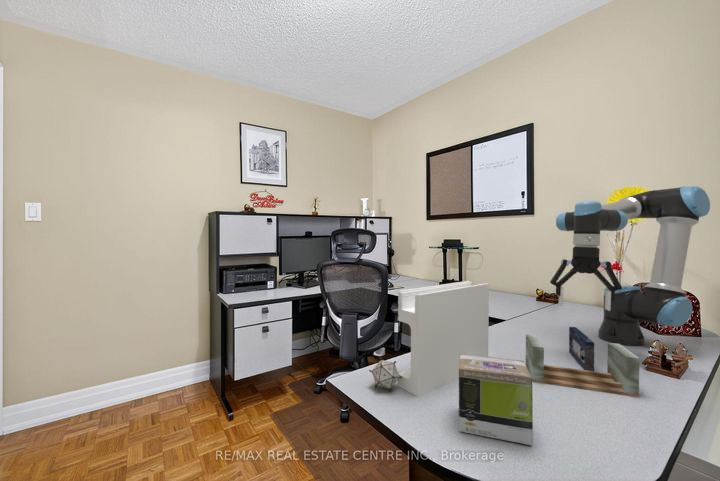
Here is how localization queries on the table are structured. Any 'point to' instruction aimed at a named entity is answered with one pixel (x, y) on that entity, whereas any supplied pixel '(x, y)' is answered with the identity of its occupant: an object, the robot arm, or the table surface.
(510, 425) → the tea box
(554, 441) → the table surface
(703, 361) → the table surface
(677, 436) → the table surface
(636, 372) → the cassette cradle
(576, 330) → the vhs cassette tape
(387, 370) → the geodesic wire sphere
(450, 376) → the block
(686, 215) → the robot arm
